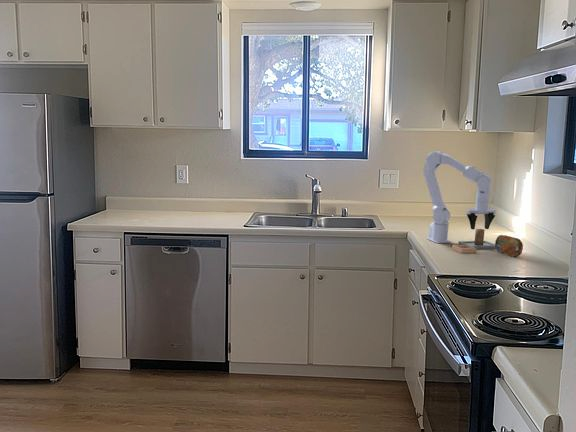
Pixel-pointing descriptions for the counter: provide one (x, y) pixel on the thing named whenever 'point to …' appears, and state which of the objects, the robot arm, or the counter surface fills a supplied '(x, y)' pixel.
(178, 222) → the counter surface
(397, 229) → the counter surface
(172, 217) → the counter surface
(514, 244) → the tin
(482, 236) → the brown rounded cylinder
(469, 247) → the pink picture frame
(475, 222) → the robot arm
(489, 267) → the counter surface
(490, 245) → the tray
